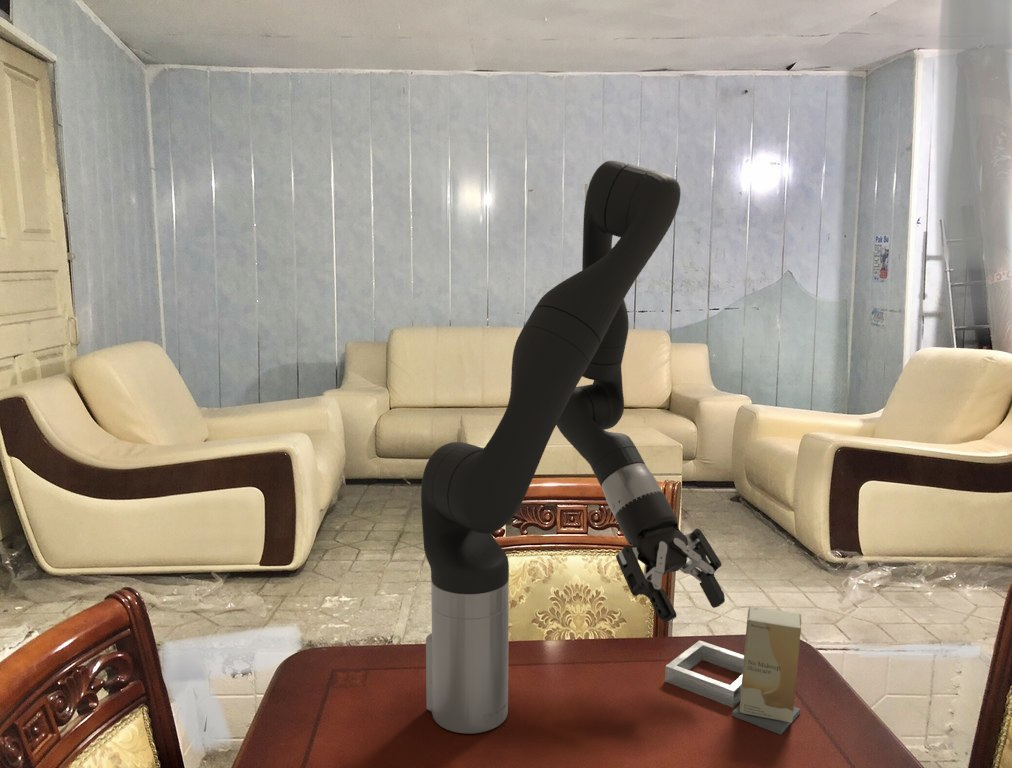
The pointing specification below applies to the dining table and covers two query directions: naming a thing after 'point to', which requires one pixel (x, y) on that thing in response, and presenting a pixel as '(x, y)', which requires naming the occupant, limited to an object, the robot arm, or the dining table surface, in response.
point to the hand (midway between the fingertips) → (696, 612)
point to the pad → (766, 720)
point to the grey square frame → (703, 685)
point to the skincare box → (770, 663)
